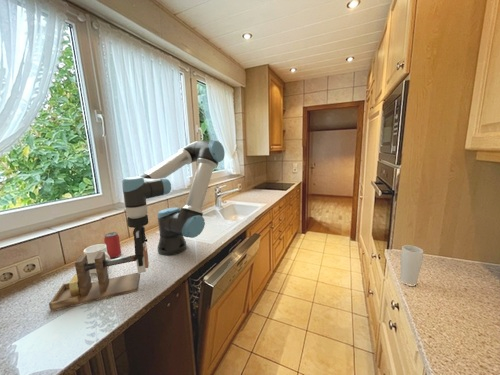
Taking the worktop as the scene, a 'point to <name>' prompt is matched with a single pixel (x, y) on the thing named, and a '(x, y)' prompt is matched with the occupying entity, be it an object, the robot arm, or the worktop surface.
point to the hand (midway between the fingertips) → (143, 264)
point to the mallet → (119, 261)
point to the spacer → (74, 287)
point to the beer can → (112, 244)
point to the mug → (95, 254)
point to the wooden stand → (94, 285)
